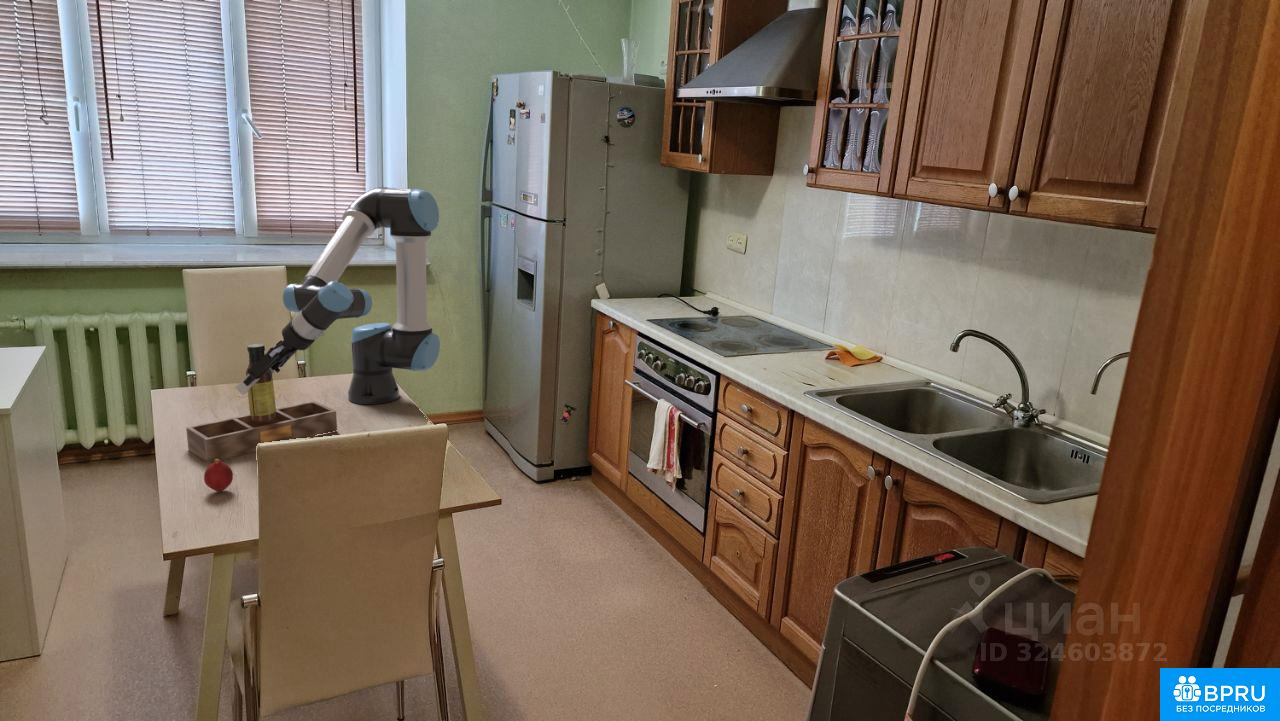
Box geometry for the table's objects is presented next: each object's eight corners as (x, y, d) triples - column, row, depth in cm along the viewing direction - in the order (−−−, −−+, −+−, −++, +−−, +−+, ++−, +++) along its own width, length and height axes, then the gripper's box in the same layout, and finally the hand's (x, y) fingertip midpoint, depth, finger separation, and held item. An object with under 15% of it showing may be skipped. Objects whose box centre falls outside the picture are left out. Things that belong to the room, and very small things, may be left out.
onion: (212, 486, 189) (209, 453, 187) (238, 486, 189) (235, 454, 187) (201, 497, 183) (197, 463, 181) (228, 497, 184) (225, 463, 181)
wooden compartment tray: (315, 421, 234) (314, 400, 233) (337, 432, 226) (336, 411, 225) (188, 449, 209) (186, 427, 208) (208, 463, 201) (206, 440, 200)
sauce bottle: (281, 417, 218) (276, 344, 213) (264, 424, 212) (258, 349, 207) (261, 414, 220) (256, 341, 215) (243, 420, 214) (237, 346, 209)
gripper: (294, 349, 200) (236, 408, 205) (332, 333, 218) (277, 388, 224) (272, 326, 199) (214, 386, 205) (311, 312, 217) (257, 367, 223)
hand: (247, 387), depth 214 cm, fingers closed on sauce bottle, 6 cm apart
